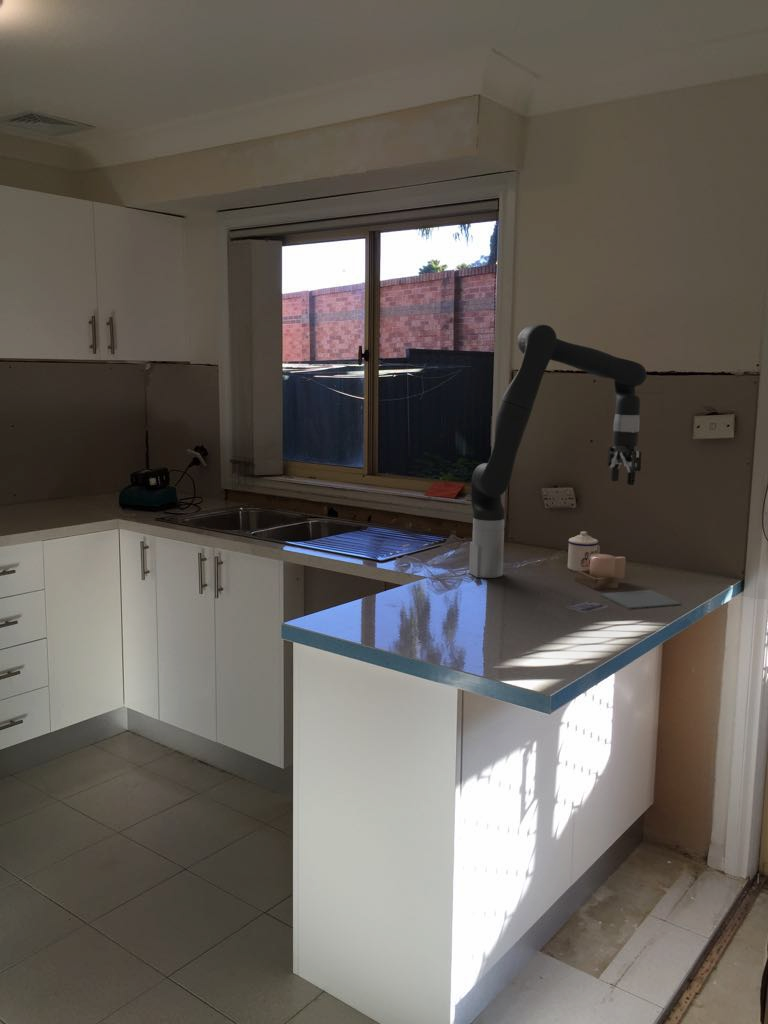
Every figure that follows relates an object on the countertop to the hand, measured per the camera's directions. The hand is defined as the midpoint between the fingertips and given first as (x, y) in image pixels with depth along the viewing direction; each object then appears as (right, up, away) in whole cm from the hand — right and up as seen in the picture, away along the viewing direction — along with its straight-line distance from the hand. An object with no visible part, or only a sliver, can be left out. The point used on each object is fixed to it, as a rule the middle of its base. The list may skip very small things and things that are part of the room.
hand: (622, 483), depth 262 cm
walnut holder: (-12, -30, -14) cm, 35 cm away
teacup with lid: (-10, -27, +5) cm, 29 cm away
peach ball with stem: (-8, -29, -13) cm, 33 cm away
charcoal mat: (-4, -33, -30) cm, 45 cm away
